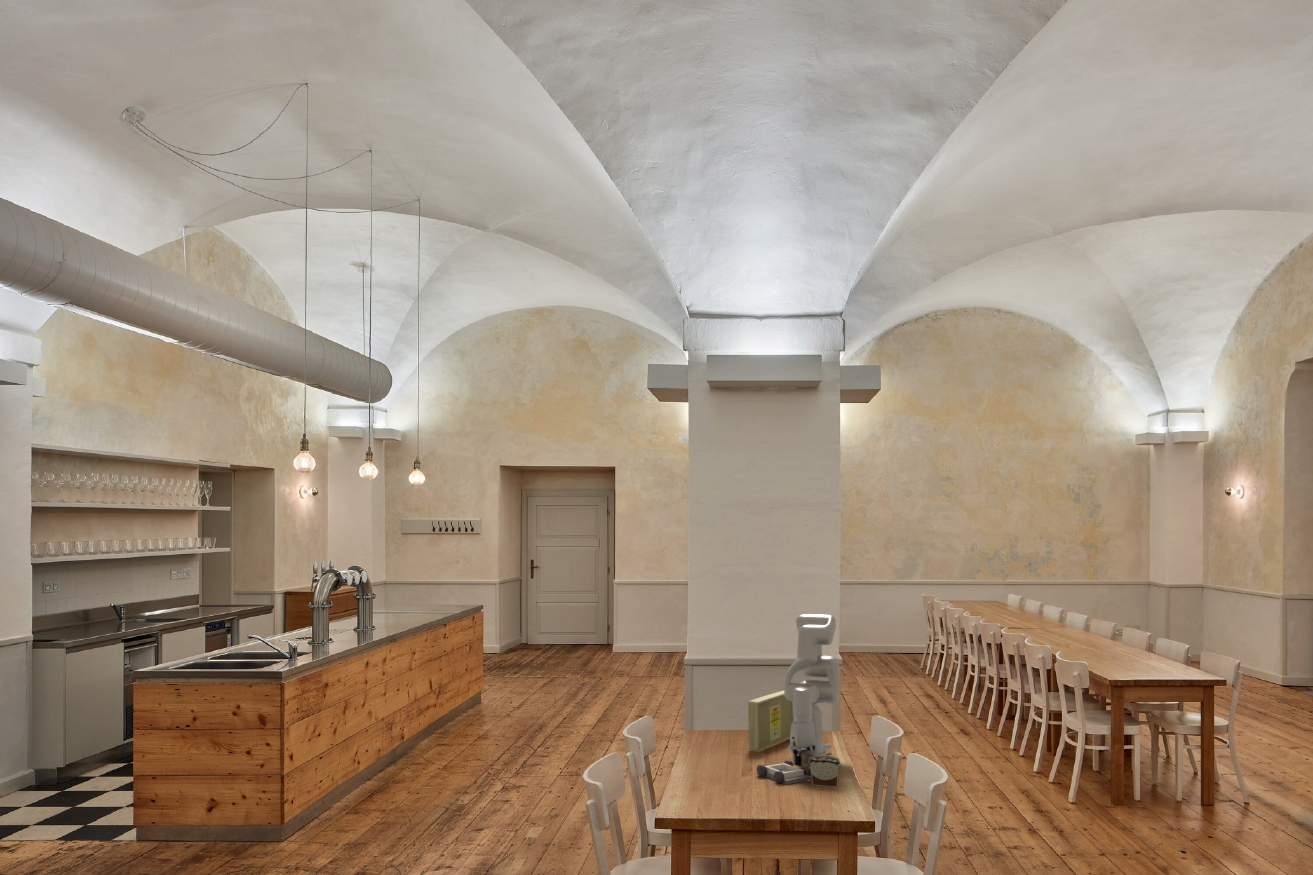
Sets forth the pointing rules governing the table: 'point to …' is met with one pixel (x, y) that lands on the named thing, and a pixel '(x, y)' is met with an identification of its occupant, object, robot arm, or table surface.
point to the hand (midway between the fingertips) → (803, 763)
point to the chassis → (785, 773)
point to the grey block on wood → (804, 757)
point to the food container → (824, 770)
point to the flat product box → (769, 721)
